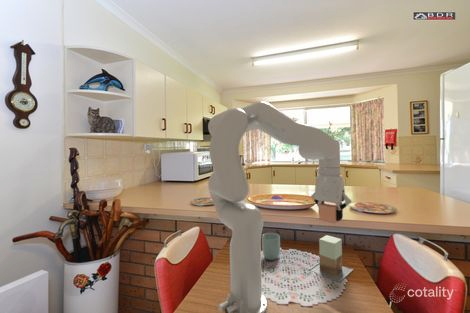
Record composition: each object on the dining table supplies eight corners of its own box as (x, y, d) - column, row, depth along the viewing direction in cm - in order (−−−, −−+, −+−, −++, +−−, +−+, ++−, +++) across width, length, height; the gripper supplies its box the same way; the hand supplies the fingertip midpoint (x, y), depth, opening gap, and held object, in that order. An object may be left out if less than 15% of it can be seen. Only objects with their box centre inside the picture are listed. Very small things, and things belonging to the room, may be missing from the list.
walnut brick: (335, 275, 82) (334, 259, 82) (319, 269, 86) (319, 254, 86) (342, 269, 86) (341, 254, 86) (327, 264, 90) (326, 249, 90)
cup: (280, 263, 93) (279, 239, 93) (261, 261, 95) (261, 238, 95) (280, 254, 101) (279, 233, 101) (263, 253, 103) (262, 232, 102)
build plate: (339, 284, 77) (339, 281, 77) (308, 271, 86) (308, 268, 86) (353, 272, 85) (353, 269, 85) (323, 261, 94) (323, 258, 94)
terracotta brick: (334, 223, 81) (334, 207, 81) (319, 220, 86) (319, 204, 86) (341, 219, 85) (341, 204, 85) (326, 216, 90) (326, 202, 90)
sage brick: (334, 259, 82) (334, 243, 81) (319, 254, 86) (319, 239, 86) (341, 254, 86) (341, 239, 85) (326, 249, 90) (326, 235, 90)
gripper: (304, 171, 89) (305, 215, 90) (348, 174, 76) (349, 225, 77) (313, 170, 94) (314, 212, 95) (357, 172, 81) (358, 220, 82)
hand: (330, 217), depth 86 cm, fingers closed on terracotta brick, 6 cm apart
